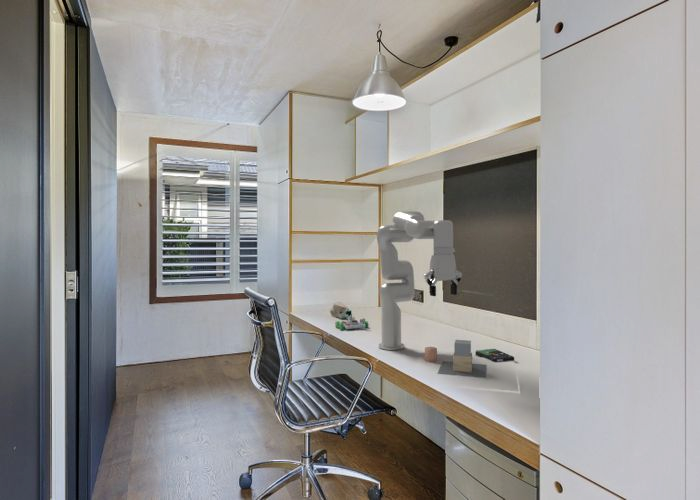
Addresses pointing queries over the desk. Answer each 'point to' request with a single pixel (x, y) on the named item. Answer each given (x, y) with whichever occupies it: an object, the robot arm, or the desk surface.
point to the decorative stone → (338, 310)
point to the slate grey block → (462, 348)
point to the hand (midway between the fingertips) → (443, 295)
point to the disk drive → (494, 355)
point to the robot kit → (351, 322)
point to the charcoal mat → (477, 371)
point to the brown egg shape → (430, 354)
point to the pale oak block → (462, 363)
